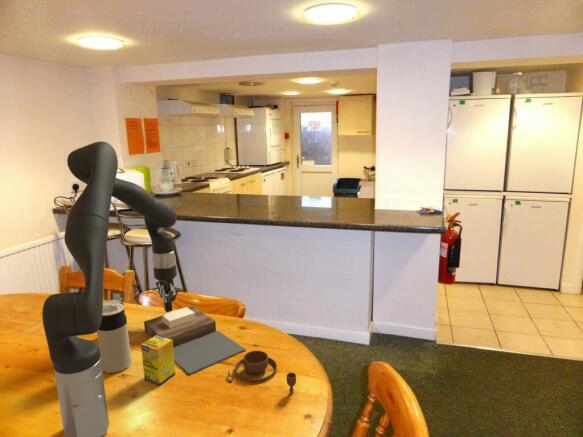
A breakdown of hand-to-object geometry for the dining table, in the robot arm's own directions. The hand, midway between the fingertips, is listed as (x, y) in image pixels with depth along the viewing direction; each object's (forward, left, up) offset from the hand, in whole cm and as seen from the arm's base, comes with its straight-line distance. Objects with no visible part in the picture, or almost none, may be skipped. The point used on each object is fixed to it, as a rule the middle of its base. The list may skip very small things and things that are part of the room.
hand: (168, 311), depth 144 cm
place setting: (-47, -4, -6) cm, 47 cm away
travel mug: (-14, +23, -5) cm, 27 cm away
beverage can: (+4, +17, -5) cm, 18 cm away
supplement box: (-28, +16, -5) cm, 33 cm away
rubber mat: (-25, 0, -5) cm, 25 cm away
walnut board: (-8, 0, -5) cm, 9 cm away
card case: (-8, 0, -1) cm, 8 cm away
